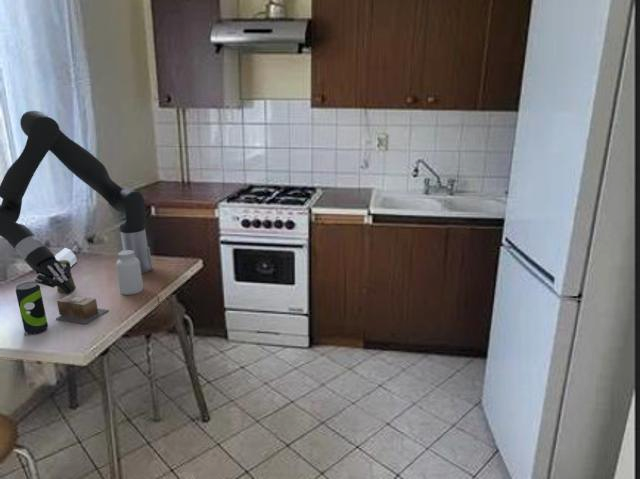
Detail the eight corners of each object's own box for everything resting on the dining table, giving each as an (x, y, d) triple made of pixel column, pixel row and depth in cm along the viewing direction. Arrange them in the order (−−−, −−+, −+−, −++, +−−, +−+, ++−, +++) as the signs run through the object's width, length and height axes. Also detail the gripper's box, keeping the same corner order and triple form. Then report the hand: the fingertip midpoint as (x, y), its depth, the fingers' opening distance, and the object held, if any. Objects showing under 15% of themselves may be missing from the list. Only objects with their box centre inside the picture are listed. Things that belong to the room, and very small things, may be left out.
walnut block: (56, 300, 153) (84, 304, 149) (69, 294, 157) (95, 298, 154) (59, 314, 154) (86, 319, 151) (71, 308, 159) (98, 312, 155)
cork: (68, 292, 173) (62, 264, 169) (53, 291, 174) (48, 263, 170) (79, 286, 178) (74, 258, 175) (65, 285, 179) (60, 257, 176)
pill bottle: (121, 297, 168) (115, 257, 164) (119, 289, 175) (113, 250, 170) (144, 292, 171) (139, 253, 167) (141, 285, 178) (136, 247, 174)
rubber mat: (55, 319, 152) (55, 318, 152) (79, 306, 161) (79, 305, 161) (85, 324, 148) (85, 323, 148) (108, 311, 157) (108, 310, 157)
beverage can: (34, 325, 148) (24, 280, 144) (52, 325, 148) (43, 281, 143) (20, 334, 142) (9, 288, 138) (39, 335, 142) (29, 289, 137)
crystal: (59, 272, 182) (82, 252, 205) (41, 264, 181) (65, 245, 204) (52, 288, 184) (75, 266, 207) (33, 280, 182) (59, 259, 205)
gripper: (47, 253, 161) (82, 291, 161) (12, 266, 149) (49, 307, 149) (56, 239, 158) (92, 278, 157) (21, 252, 146) (59, 293, 145)
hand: (71, 292), depth 153 cm, fingers closed
